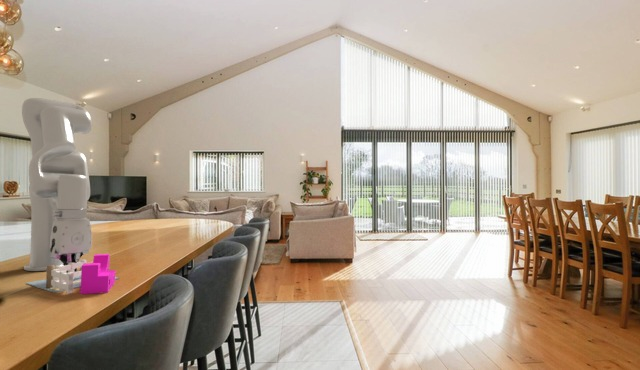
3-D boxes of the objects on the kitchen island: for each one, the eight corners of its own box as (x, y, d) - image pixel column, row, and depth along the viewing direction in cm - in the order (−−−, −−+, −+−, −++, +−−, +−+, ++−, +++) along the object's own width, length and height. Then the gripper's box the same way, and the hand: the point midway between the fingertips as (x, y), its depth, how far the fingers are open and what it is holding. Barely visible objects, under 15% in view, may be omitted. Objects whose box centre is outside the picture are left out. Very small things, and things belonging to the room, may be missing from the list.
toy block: (107, 292, 95) (108, 264, 95) (80, 294, 92) (81, 265, 92) (117, 277, 109) (118, 253, 109) (94, 279, 106) (95, 254, 106)
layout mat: (26, 283, 101) (26, 282, 101) (90, 272, 117) (90, 270, 117) (54, 292, 93) (54, 290, 93) (119, 278, 109) (119, 277, 109)
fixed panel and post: (44, 289, 97) (45, 265, 97) (52, 287, 98) (53, 264, 98) (66, 295, 91) (67, 271, 91) (74, 294, 93) (74, 269, 93)
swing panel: (57, 284, 99) (58, 266, 99) (53, 284, 99) (54, 266, 99) (86, 275, 109) (86, 259, 109) (82, 275, 109) (83, 259, 109)
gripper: (54, 217, 98) (52, 282, 98) (103, 214, 112) (101, 271, 112) (36, 215, 101) (34, 280, 100) (86, 213, 115) (84, 269, 114)
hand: (69, 275), depth 106 cm, fingers closed
